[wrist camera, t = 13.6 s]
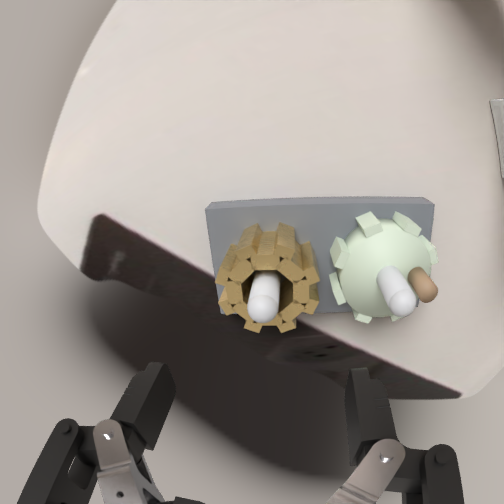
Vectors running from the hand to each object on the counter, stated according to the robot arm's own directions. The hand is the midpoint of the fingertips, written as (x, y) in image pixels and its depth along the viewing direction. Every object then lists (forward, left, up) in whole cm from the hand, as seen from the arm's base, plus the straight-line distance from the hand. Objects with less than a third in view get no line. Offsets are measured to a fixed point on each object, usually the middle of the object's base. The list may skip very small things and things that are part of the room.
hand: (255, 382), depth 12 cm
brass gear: (0, 0, -11) cm, 11 cm away
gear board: (-4, 0, -13) cm, 14 cm away
